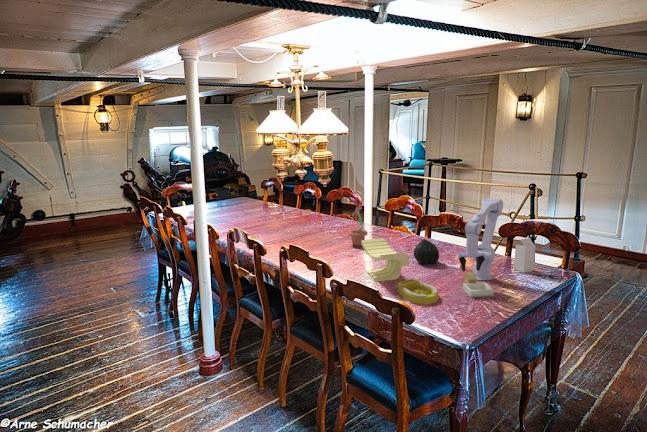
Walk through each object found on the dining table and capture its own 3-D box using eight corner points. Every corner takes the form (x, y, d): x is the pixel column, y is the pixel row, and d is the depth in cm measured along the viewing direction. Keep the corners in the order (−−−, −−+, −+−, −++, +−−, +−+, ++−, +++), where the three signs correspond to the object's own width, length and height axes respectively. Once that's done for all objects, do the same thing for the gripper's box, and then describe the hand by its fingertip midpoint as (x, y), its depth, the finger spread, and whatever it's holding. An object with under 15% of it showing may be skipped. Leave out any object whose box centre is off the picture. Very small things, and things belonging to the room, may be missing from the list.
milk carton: (513, 269, 240) (516, 237, 236) (523, 267, 242) (525, 236, 238) (523, 273, 233) (526, 240, 229) (533, 271, 236) (535, 239, 232)
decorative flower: (353, 240, 308) (352, 201, 301) (370, 242, 302) (370, 202, 295) (345, 246, 295) (344, 204, 288) (363, 248, 289) (363, 205, 282)
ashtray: (416, 286, 219) (417, 277, 218) (445, 300, 201) (445, 290, 200) (392, 292, 211) (392, 283, 210) (419, 307, 193) (419, 297, 192)
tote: (462, 290, 212) (463, 283, 211) (484, 289, 212) (485, 282, 212) (470, 297, 202) (471, 291, 201) (493, 296, 203) (494, 289, 202)
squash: (440, 259, 244) (438, 236, 251) (414, 259, 247) (413, 236, 254) (438, 268, 256) (437, 246, 263) (414, 268, 259) (413, 246, 266)
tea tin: (463, 284, 219) (464, 272, 217) (472, 284, 219) (472, 271, 217) (467, 288, 214) (468, 275, 213) (475, 287, 215) (476, 274, 213)
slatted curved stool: (408, 283, 222) (409, 252, 218) (381, 287, 218) (381, 255, 214) (386, 266, 250) (386, 237, 247) (361, 269, 246) (361, 240, 243)
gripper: (461, 248, 207) (460, 273, 210) (489, 246, 208) (487, 272, 211) (455, 244, 214) (454, 269, 217) (483, 243, 215) (481, 267, 218)
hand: (470, 270), depth 215 cm, fingers open, 7 cm apart
